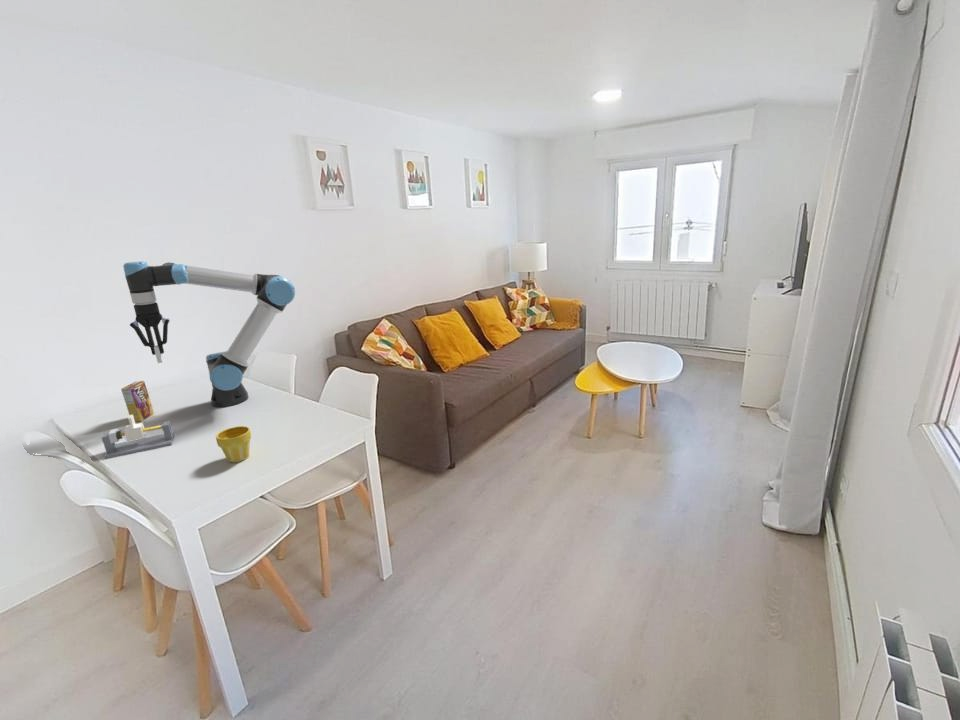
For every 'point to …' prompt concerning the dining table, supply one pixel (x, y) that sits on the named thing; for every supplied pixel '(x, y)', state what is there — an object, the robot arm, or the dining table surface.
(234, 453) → the plant pot
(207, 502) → the dining table surface
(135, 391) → the candy box
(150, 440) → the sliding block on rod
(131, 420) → the cream slider carriage
